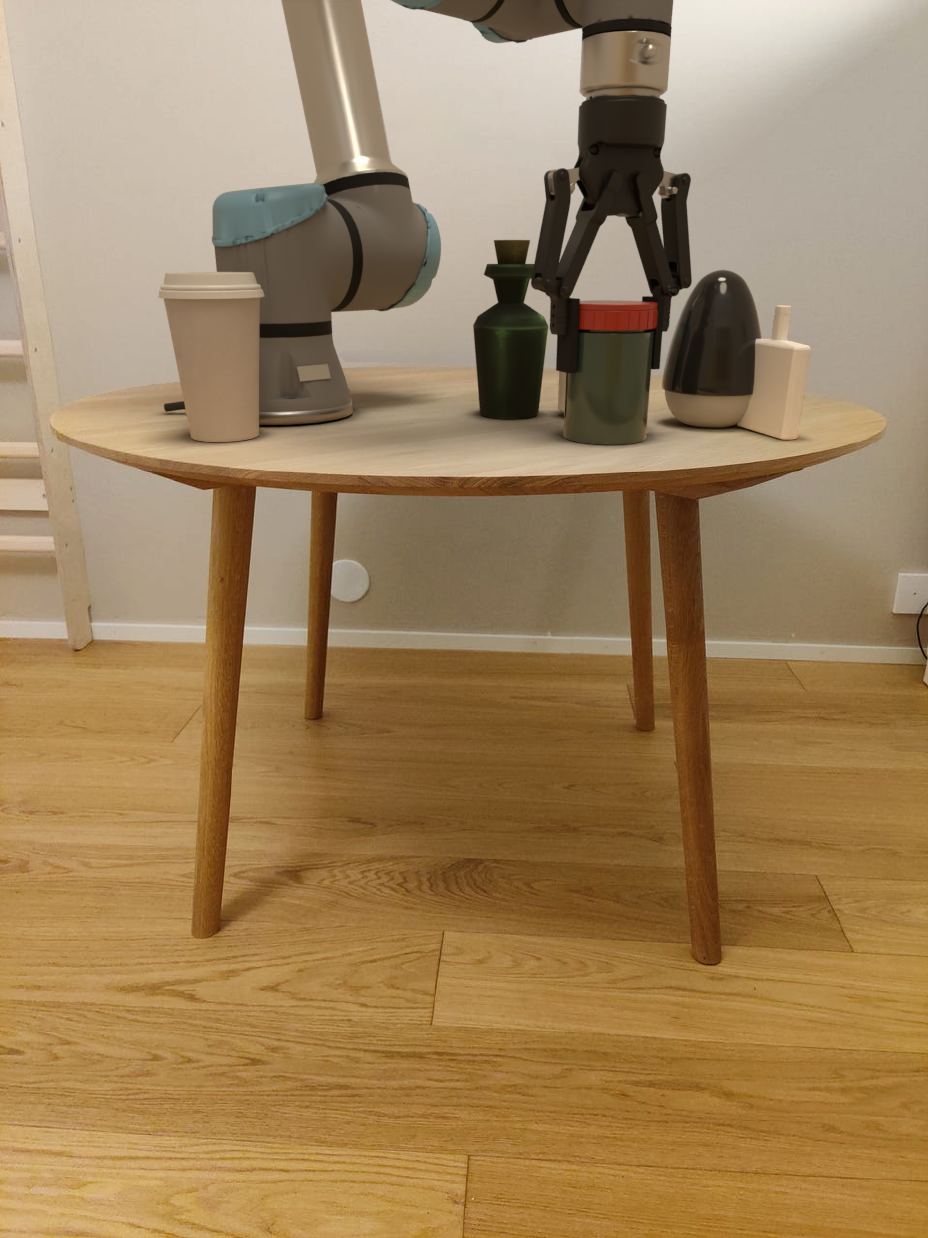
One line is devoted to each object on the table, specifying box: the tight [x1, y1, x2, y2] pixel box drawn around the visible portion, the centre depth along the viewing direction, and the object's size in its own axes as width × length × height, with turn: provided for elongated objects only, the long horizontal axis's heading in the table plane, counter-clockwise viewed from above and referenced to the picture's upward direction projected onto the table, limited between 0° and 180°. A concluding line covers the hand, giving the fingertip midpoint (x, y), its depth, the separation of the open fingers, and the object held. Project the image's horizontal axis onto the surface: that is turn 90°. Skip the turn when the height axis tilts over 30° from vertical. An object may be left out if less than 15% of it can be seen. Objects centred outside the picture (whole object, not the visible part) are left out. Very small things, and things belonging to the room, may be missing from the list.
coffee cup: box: [158, 271, 264, 443], centre depth 87 cm, size 10×10×15 cm
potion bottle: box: [472, 239, 549, 420], centre depth 99 cm, size 8×8×18 cm
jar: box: [562, 329, 654, 446], centre depth 88 cm, size 8×8×12 cm
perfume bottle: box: [736, 304, 812, 441], centre depth 90 cm, size 8×2×12 cm, turn 18°
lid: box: [579, 299, 658, 331], centre depth 86 cm, size 8×8×2 cm
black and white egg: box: [661, 269, 763, 429], centre depth 94 cm, size 10×10×15 cm
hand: (608, 369), depth 88 cm, fingers closed on lid, 8 cm apart
